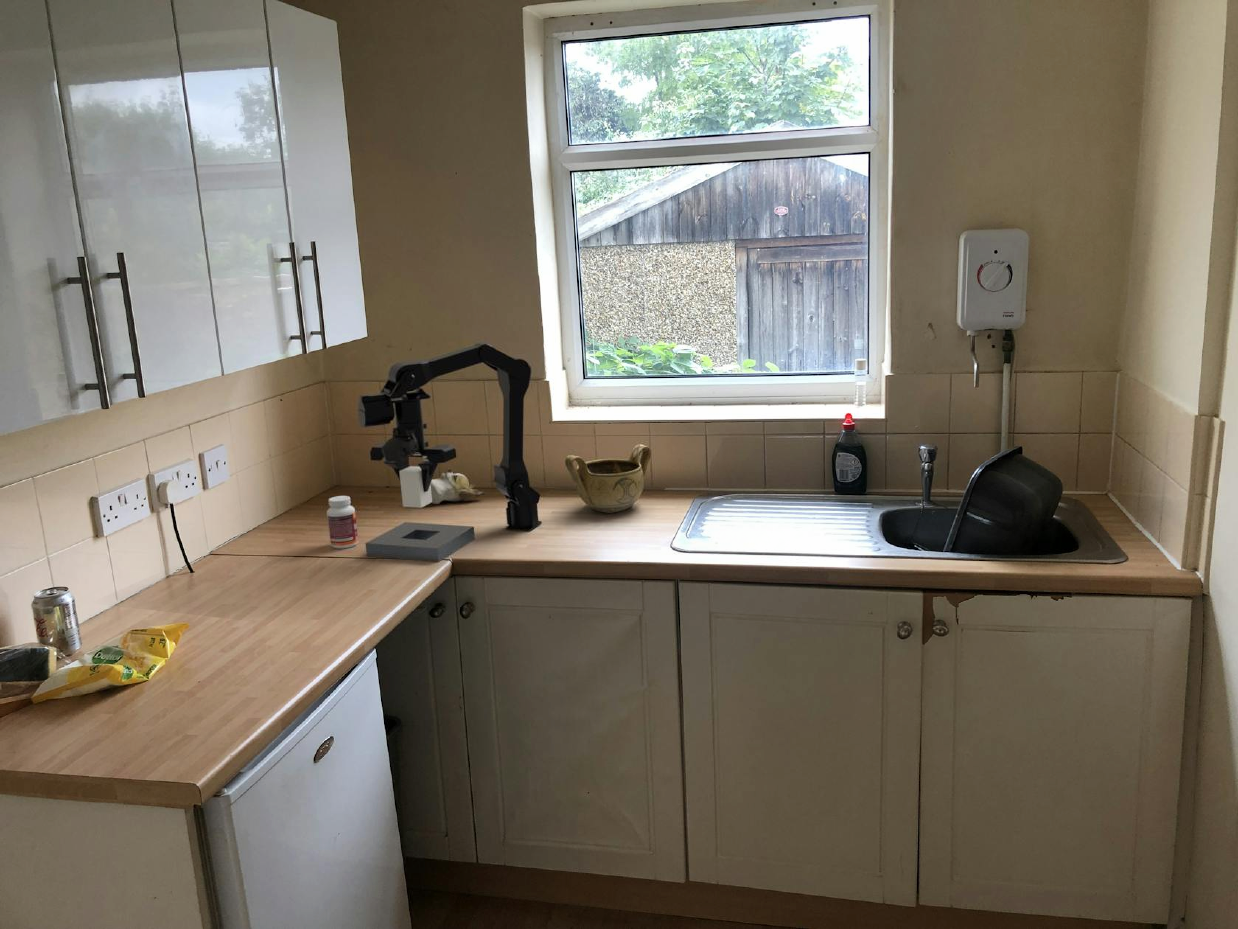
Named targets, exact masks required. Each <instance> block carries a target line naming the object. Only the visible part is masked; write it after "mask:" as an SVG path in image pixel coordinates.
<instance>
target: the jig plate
mask: <svg viewBox="0 0 1238 929" xmlns="http://www.w3.org/2000/svg"><path fill="white" fill-rule="evenodd" d="M475 539H476V536H475V526H473V525H472V526H471V525H455V524H441V523H439V524H438V523H426V522H424V523H421V522H411V521H408V522H407V521H405V522H403V523H402V524H399V525H397V526H395V527H394V528H391V529H390V530H388V531H385V532H384V533H382V534H380V535H378V536H376V537H374V538H373V539H371V540H368V541H367V542H365V551H366V557H370V558H371V557H372V558H383V559H395V558H396V559H397V560H410V561H421V562H433V561H434V562H435V561H436V563H440V562H441V561H442V560H444V559H445V558H448V557H449V556H451V555H452V554H454V553H455V552H457V551H459V550H460V549H462V548H463V547H466V545H468V544H469V543H471V542H473V541H475Z"/></svg>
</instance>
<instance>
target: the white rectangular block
mask: <svg viewBox="0 0 1238 929" xmlns="http://www.w3.org/2000/svg"><path fill="white" fill-rule="evenodd" d="M399 472H400V480H399V482H400V490H401V499H402V500H401V501H402V507H404V508H405V507H406V508H419V509H422V508H423V507H425V506H427V505H429V504H431V503H432V494H431V484H430V486H429V489H428V491H427V492H424V489H423V481H422V470H421V468H420V467H419V466H415V465H411V466H410V465H409V467H408V468H406V469H403V470H401V471H399Z"/></svg>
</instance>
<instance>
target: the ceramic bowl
mask: <svg viewBox="0 0 1238 929" xmlns="http://www.w3.org/2000/svg"><path fill="white" fill-rule="evenodd" d="M640 455H641V456H640ZM651 456H652V450H651V448H650V447H649V446H647V445H644V444H641V443H639V444H637V445H635V446H634V447H633V449H632V451H631V453H630V457H629V459H626V458H625V459H624V458H603V459H602V458H601V459H594V460H589V461H585V460H584V459H583V458H581V456H578V455H574V454H573V455H572V454H570V455H566V457H565V460H564V463H565V467H566V469H567V471H568V472H569V475H570V476H571V478H572V480H573V482H574V484H575V488H576V492H577V494H578V496H579V498H580V499H581V500H582V501H583V503H584V504H585V505H587V506H588V507H590V509H591V508H592V509H593V510H595V511H598V512H602V513H608V514H610V513H619V512H622V511H624V510H626V509H628V508H631V507H632V506H634V504H635V503H636V502H637V501H638V500H639V498H640V496H641V494H642V492H643V490H644V484H645V481H644V480H645V476H646V473H647V469H648V466H649V462H650V459H651ZM574 461H575V462H576V463H577V466H576V468H575V466H574Z"/></svg>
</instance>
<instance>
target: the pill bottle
mask: <svg viewBox="0 0 1238 929" xmlns="http://www.w3.org/2000/svg"><path fill="white" fill-rule="evenodd" d="M328 505H329V507H330V508H328V509H327V511H326V517H327V525H328V533H329V541H330V547H331V548H333V549H340V550H341V549H349V548H352V547H355V546H357V545H358V544H359V535H358V534H359V533H358V526H357V518H356V516H357V515H356V509H355V507H354V506H353V505H351V497H350V496H349V495H338V496H332V497H330V498H328Z"/></svg>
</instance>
